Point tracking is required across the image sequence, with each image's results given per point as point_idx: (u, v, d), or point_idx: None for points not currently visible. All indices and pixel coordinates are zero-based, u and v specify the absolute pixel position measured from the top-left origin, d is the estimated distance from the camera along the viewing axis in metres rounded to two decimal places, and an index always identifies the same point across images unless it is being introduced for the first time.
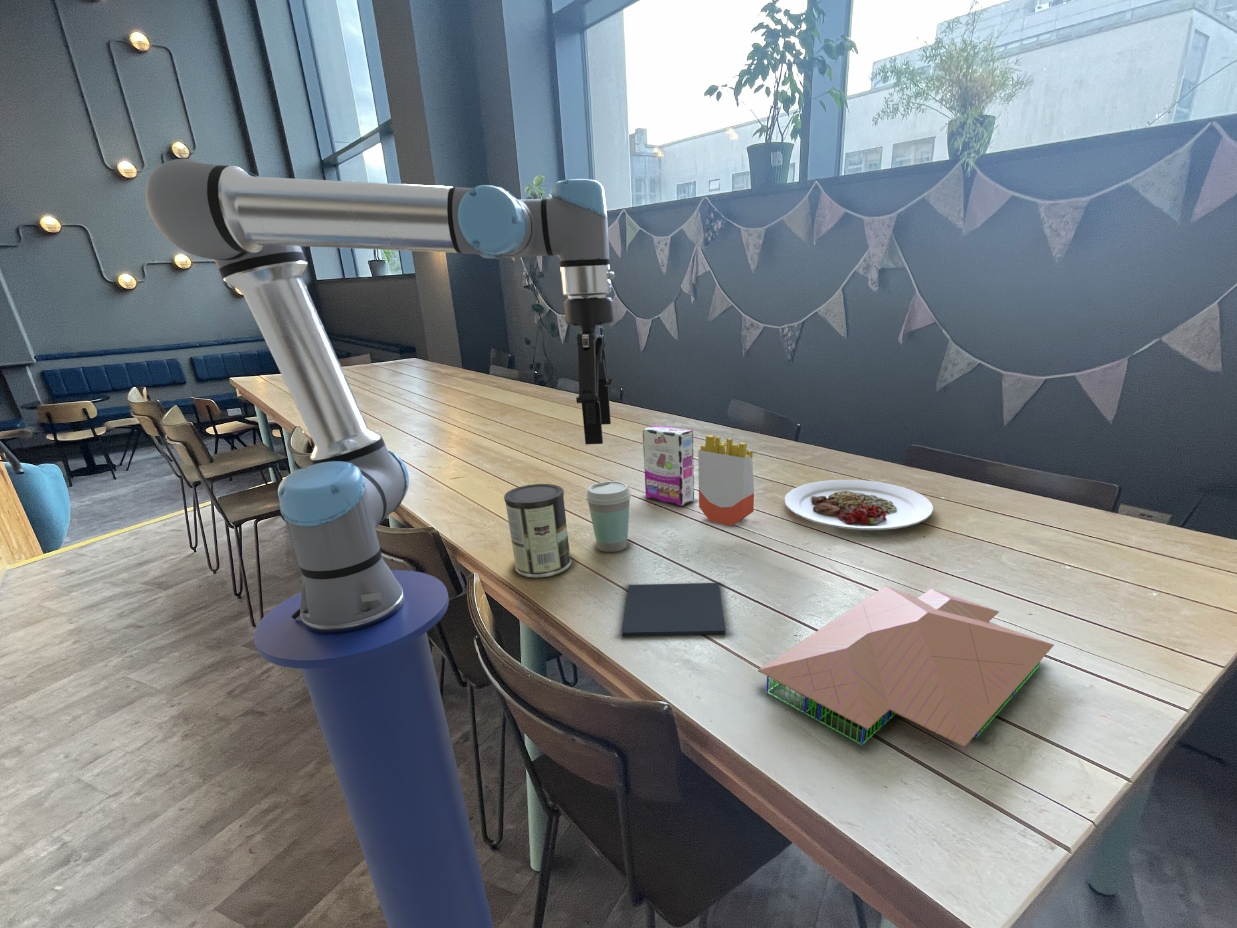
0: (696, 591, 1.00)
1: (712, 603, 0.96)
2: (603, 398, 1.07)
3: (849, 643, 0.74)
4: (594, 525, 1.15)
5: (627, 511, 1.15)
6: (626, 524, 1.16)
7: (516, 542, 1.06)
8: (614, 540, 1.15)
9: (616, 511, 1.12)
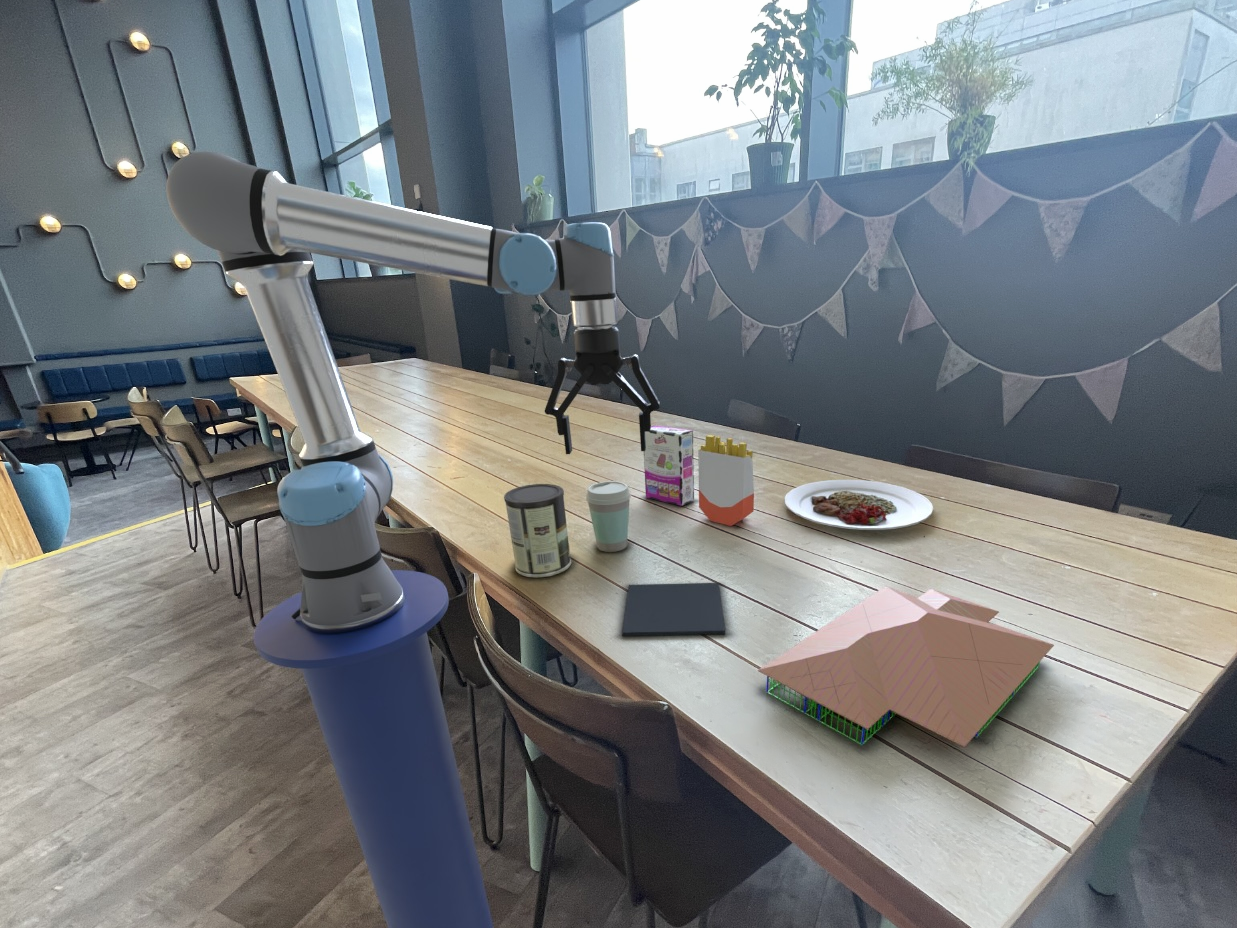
0: (696, 591, 1.00)
1: (712, 603, 0.96)
2: (568, 426, 1.10)
3: (849, 643, 0.74)
4: (594, 525, 1.15)
5: (627, 511, 1.15)
6: (626, 524, 1.16)
7: (516, 542, 1.06)
8: (614, 540, 1.15)
9: (616, 511, 1.12)
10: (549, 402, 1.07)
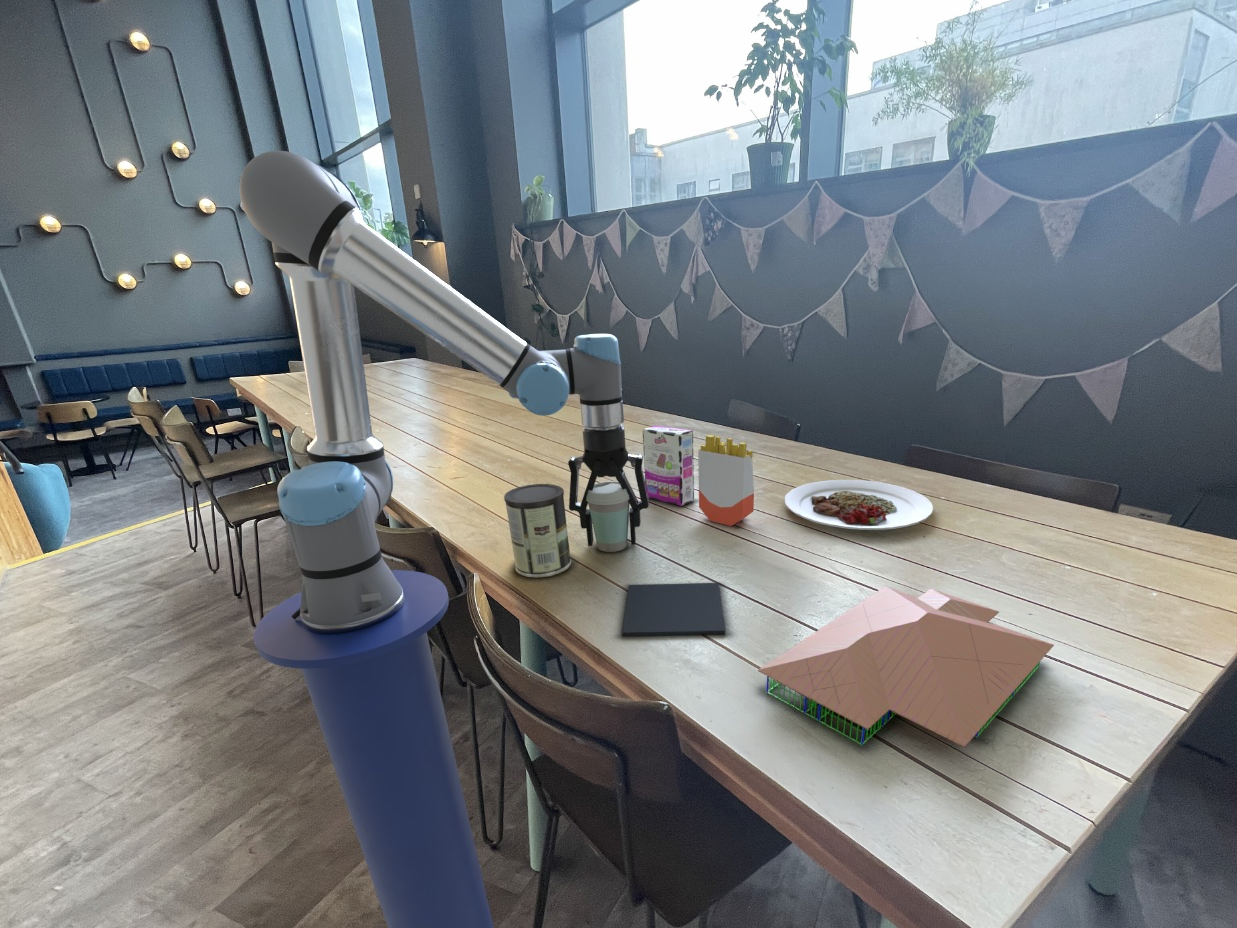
0: (696, 591, 1.00)
1: (712, 603, 0.96)
2: (591, 519, 1.17)
3: (849, 643, 0.74)
4: (594, 525, 1.15)
5: (627, 511, 1.15)
6: (626, 524, 1.16)
7: (516, 542, 1.06)
8: (614, 540, 1.15)
9: (616, 511, 1.12)
10: (571, 499, 1.14)
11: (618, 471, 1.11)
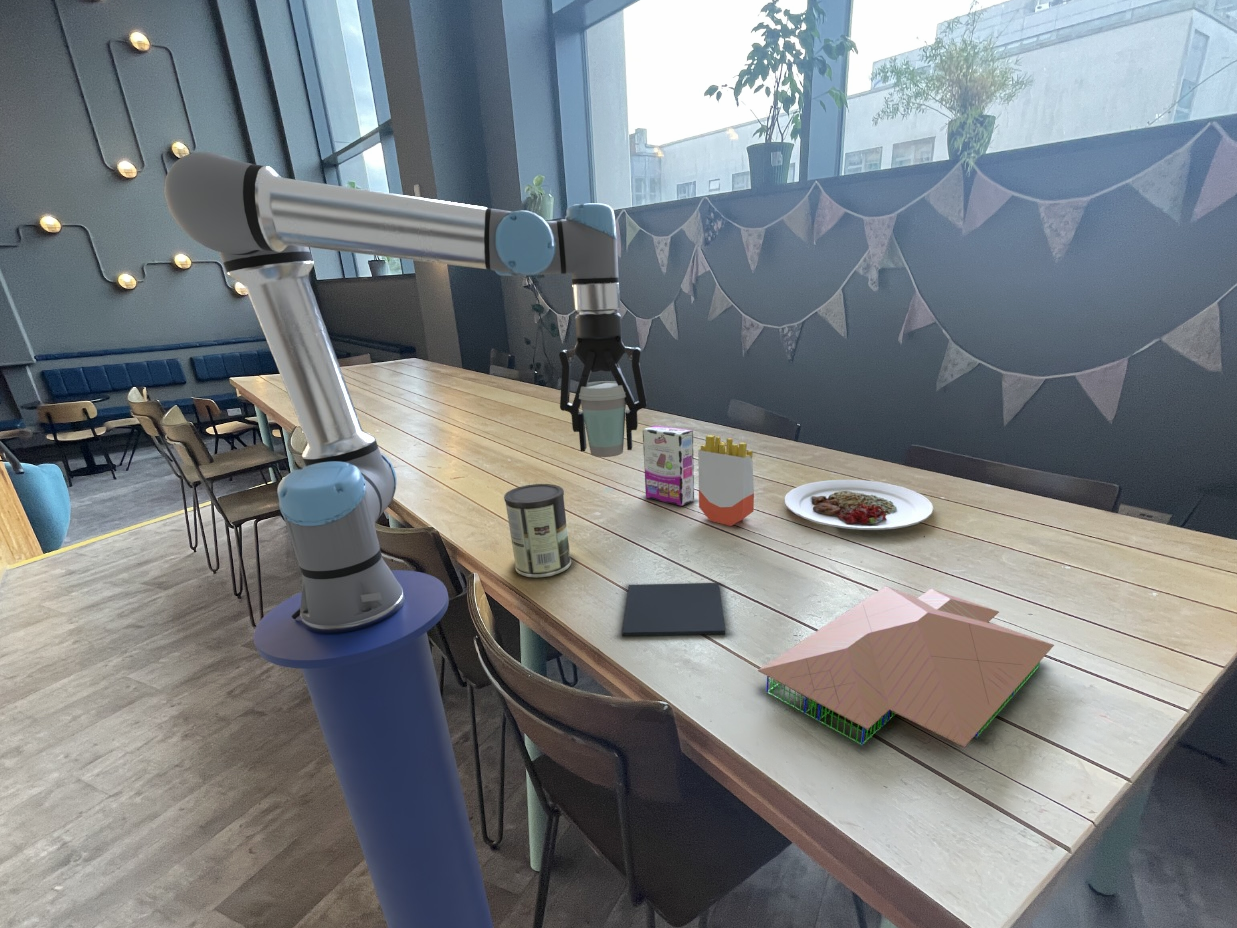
0: (696, 591, 1.00)
1: (712, 603, 0.96)
2: (584, 423, 1.08)
3: (849, 643, 0.74)
4: (587, 427, 1.06)
5: (623, 411, 1.05)
6: (622, 426, 1.06)
7: (516, 542, 1.06)
8: (609, 443, 1.06)
9: (611, 408, 1.03)
10: (562, 398, 1.05)
11: (614, 364, 1.02)
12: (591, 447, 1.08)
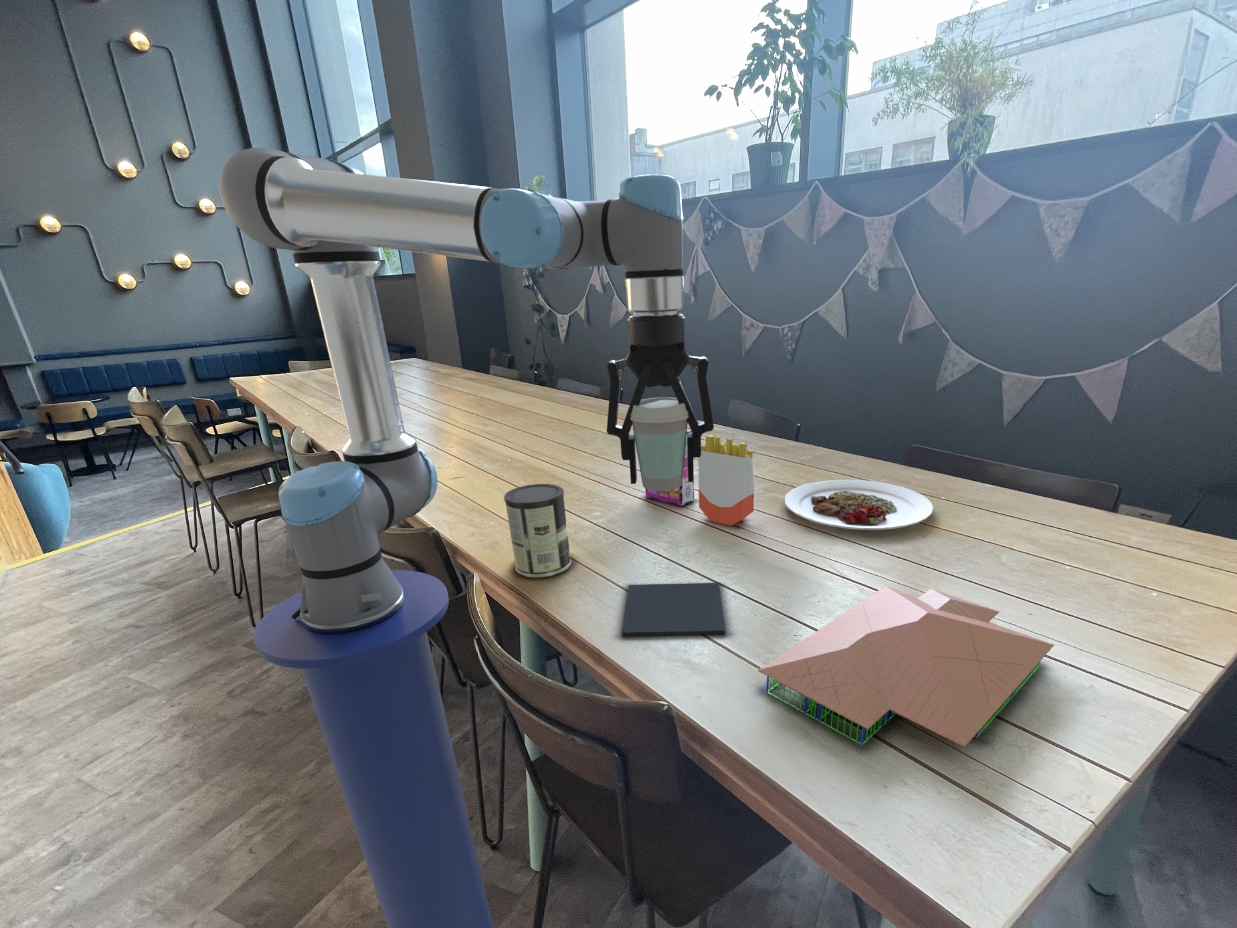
0: (696, 591, 1.00)
1: (712, 603, 0.96)
2: None
3: (849, 643, 0.74)
4: (640, 454, 0.86)
5: (685, 435, 0.86)
6: (683, 453, 0.87)
7: (516, 542, 1.06)
8: (668, 475, 0.86)
9: (671, 432, 0.83)
10: (609, 419, 0.85)
11: (675, 377, 0.82)
12: (644, 479, 0.88)
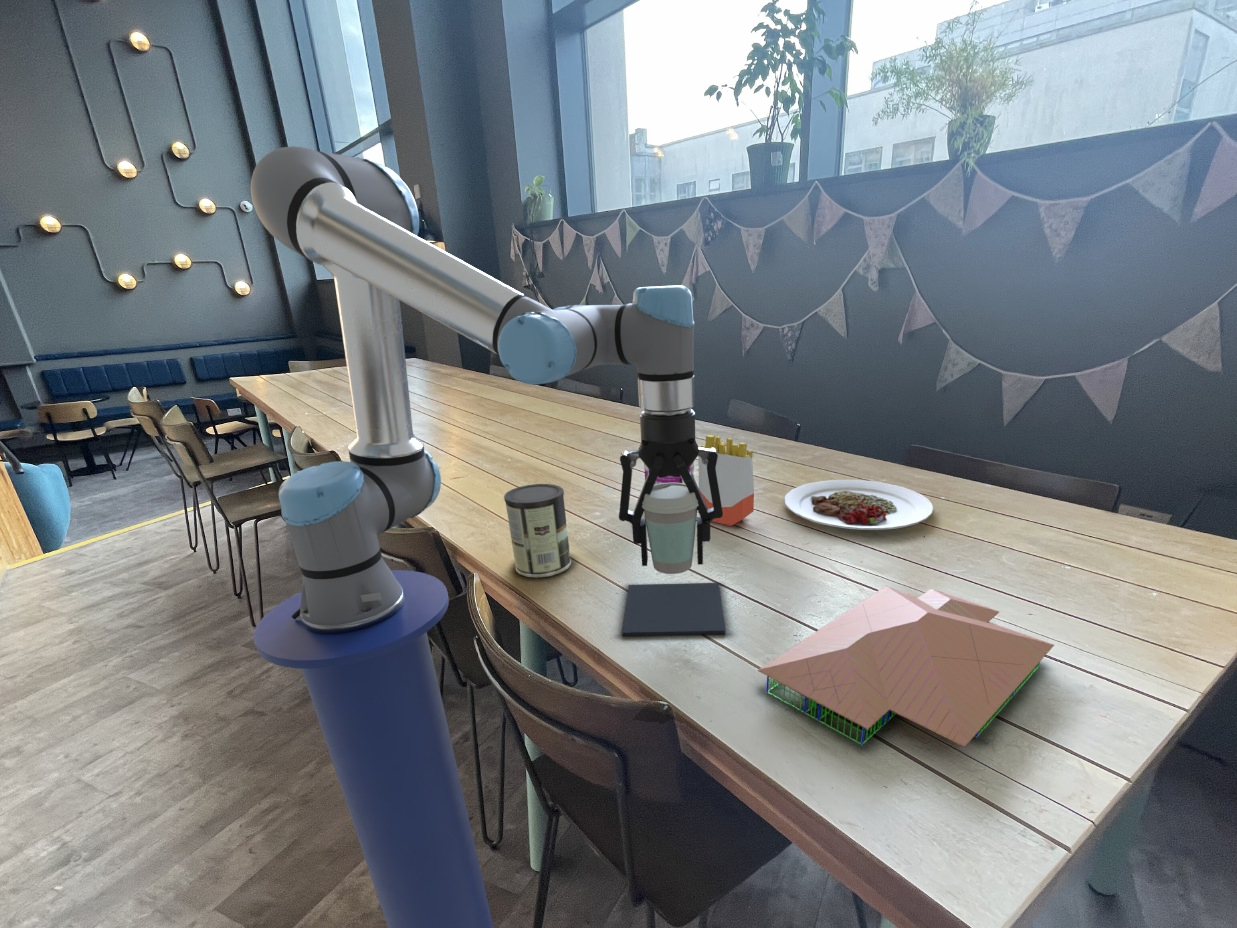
0: (696, 591, 1.00)
1: (712, 603, 0.96)
2: None
3: (849, 643, 0.74)
4: (651, 539, 0.89)
5: (695, 521, 0.88)
6: (693, 538, 0.89)
7: (516, 542, 1.06)
8: (678, 559, 0.89)
9: (682, 521, 0.86)
10: (622, 507, 0.88)
11: (686, 469, 0.85)
12: (655, 562, 0.90)
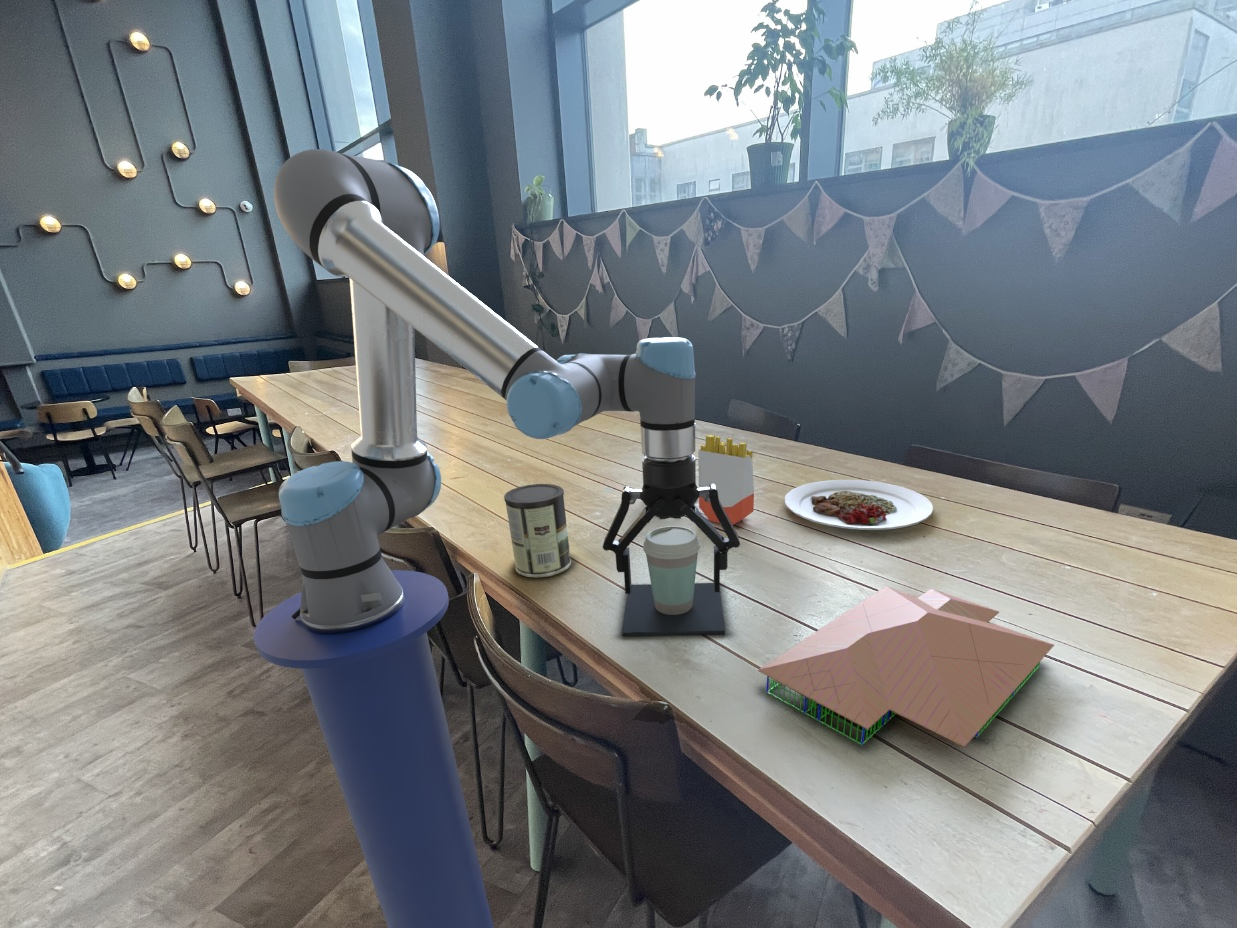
0: (696, 591, 1.00)
1: (712, 603, 0.96)
2: (629, 561, 0.93)
3: (849, 643, 0.74)
4: (653, 582, 0.92)
5: (695, 565, 0.91)
6: (693, 581, 0.92)
7: (516, 542, 1.06)
8: (679, 601, 0.92)
9: (683, 566, 0.89)
10: (609, 537, 0.90)
11: (686, 512, 0.87)
12: (657, 603, 0.93)
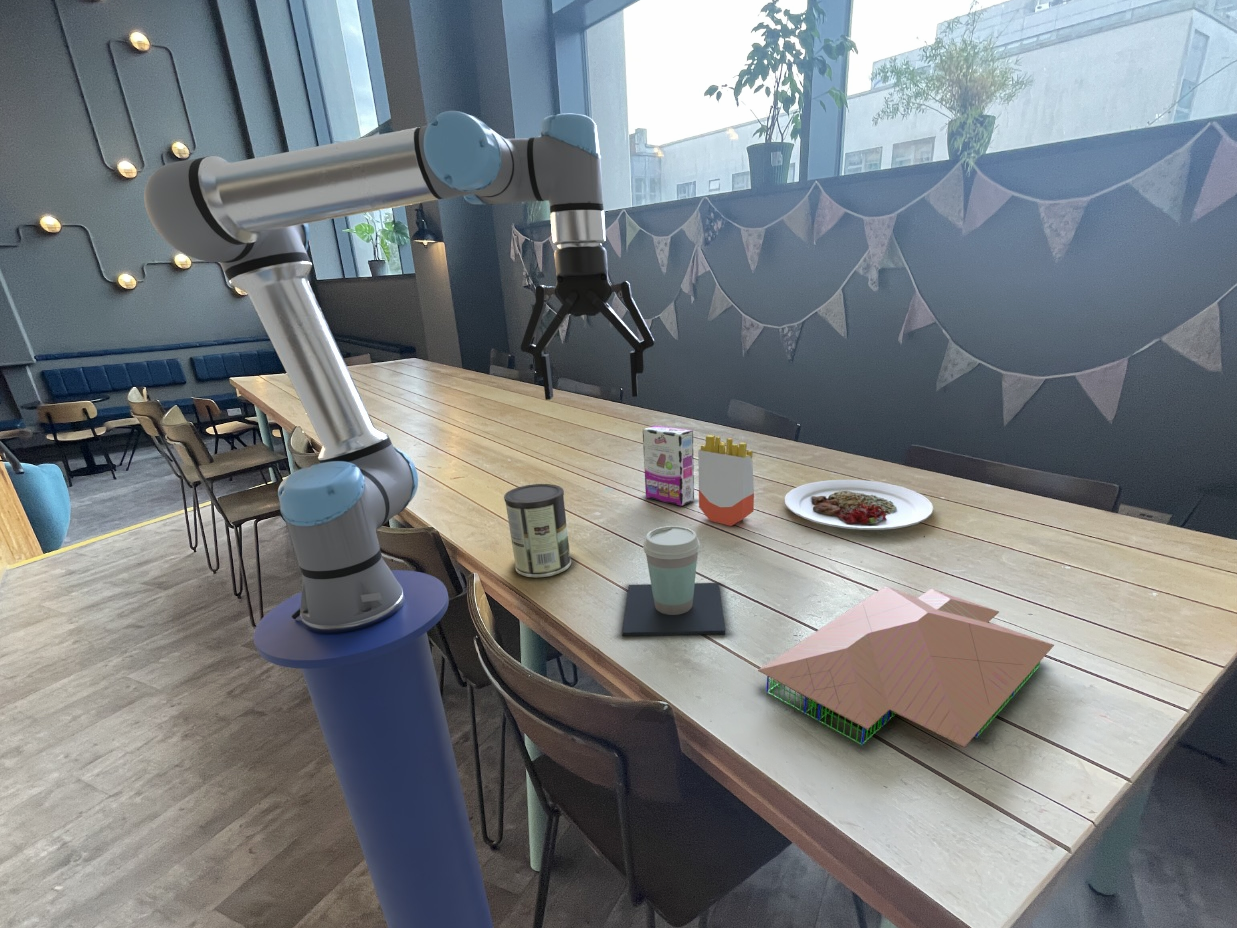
0: (696, 591, 1.00)
1: (712, 603, 0.96)
2: (549, 367, 0.95)
3: (849, 643, 0.74)
4: (653, 582, 0.92)
5: (695, 565, 0.91)
6: (693, 581, 0.92)
7: (516, 542, 1.06)
8: (679, 601, 0.92)
9: (683, 566, 0.89)
10: (526, 337, 0.92)
11: (599, 307, 0.89)
12: (657, 603, 0.93)
